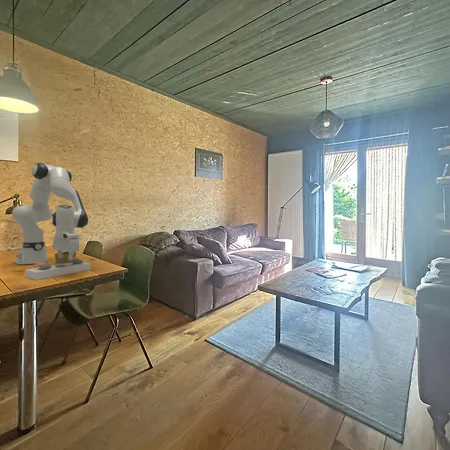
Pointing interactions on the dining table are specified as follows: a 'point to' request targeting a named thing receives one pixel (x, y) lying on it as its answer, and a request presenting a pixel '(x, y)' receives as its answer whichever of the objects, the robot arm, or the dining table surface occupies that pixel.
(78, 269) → the power strip
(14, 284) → the dining table surface
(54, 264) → the rocker middle
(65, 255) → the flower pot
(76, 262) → the rocker far
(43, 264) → the rocker near
